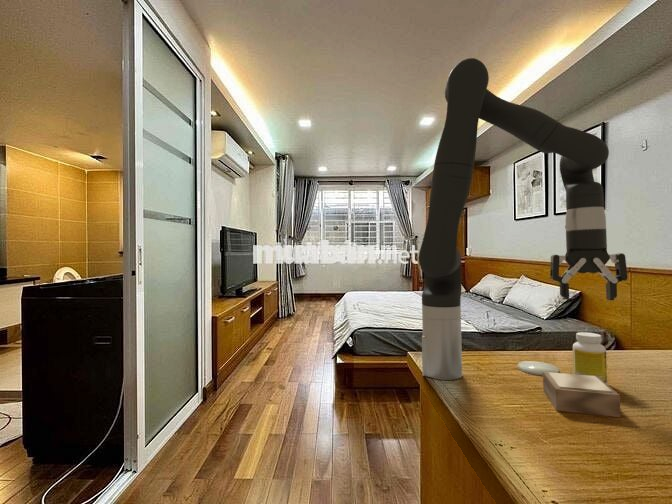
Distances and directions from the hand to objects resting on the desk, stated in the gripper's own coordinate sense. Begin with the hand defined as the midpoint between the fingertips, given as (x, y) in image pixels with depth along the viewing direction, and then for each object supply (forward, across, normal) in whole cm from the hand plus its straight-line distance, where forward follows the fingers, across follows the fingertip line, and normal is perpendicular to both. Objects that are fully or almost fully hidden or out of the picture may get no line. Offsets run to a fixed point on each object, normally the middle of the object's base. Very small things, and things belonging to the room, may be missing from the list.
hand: (587, 299), depth 79 cm
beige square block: (+19, -6, -13) cm, 24 cm away
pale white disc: (+19, -9, +7) cm, 22 cm away
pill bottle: (+19, 0, 0) cm, 19 cm away
